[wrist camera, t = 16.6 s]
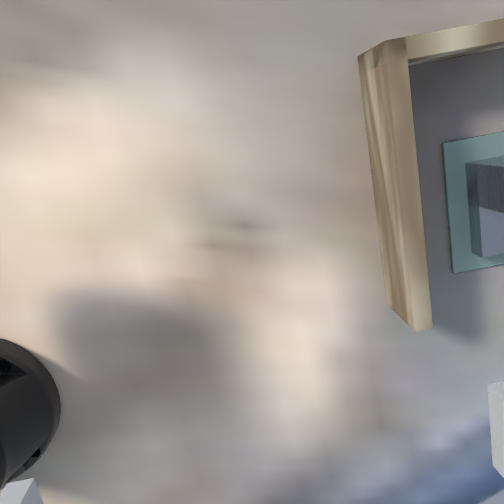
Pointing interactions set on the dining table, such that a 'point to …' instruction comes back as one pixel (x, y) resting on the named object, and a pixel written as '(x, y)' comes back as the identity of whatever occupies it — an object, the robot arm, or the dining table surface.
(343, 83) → the dining table surface
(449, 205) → the mat
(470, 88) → the dining table surface
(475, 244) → the angle block
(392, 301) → the wooden corner frame
